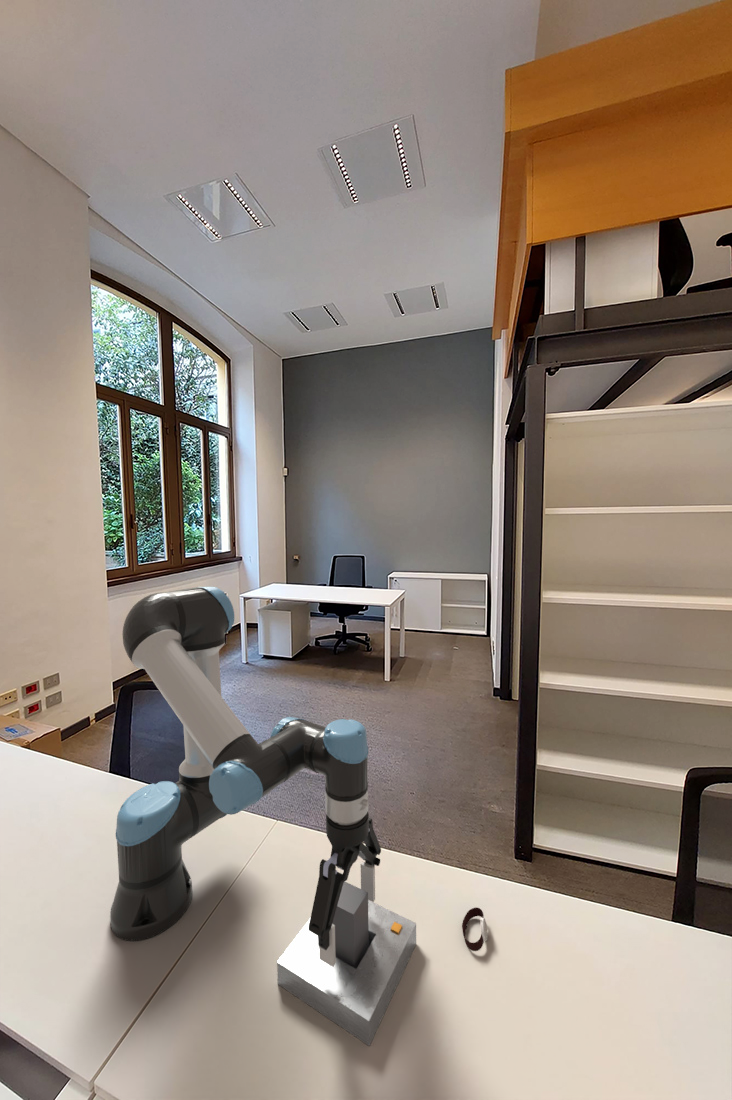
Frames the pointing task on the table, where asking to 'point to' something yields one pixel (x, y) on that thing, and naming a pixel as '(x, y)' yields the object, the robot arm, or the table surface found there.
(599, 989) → the table surface
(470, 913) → the watch
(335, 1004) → the socket
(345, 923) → the plug
